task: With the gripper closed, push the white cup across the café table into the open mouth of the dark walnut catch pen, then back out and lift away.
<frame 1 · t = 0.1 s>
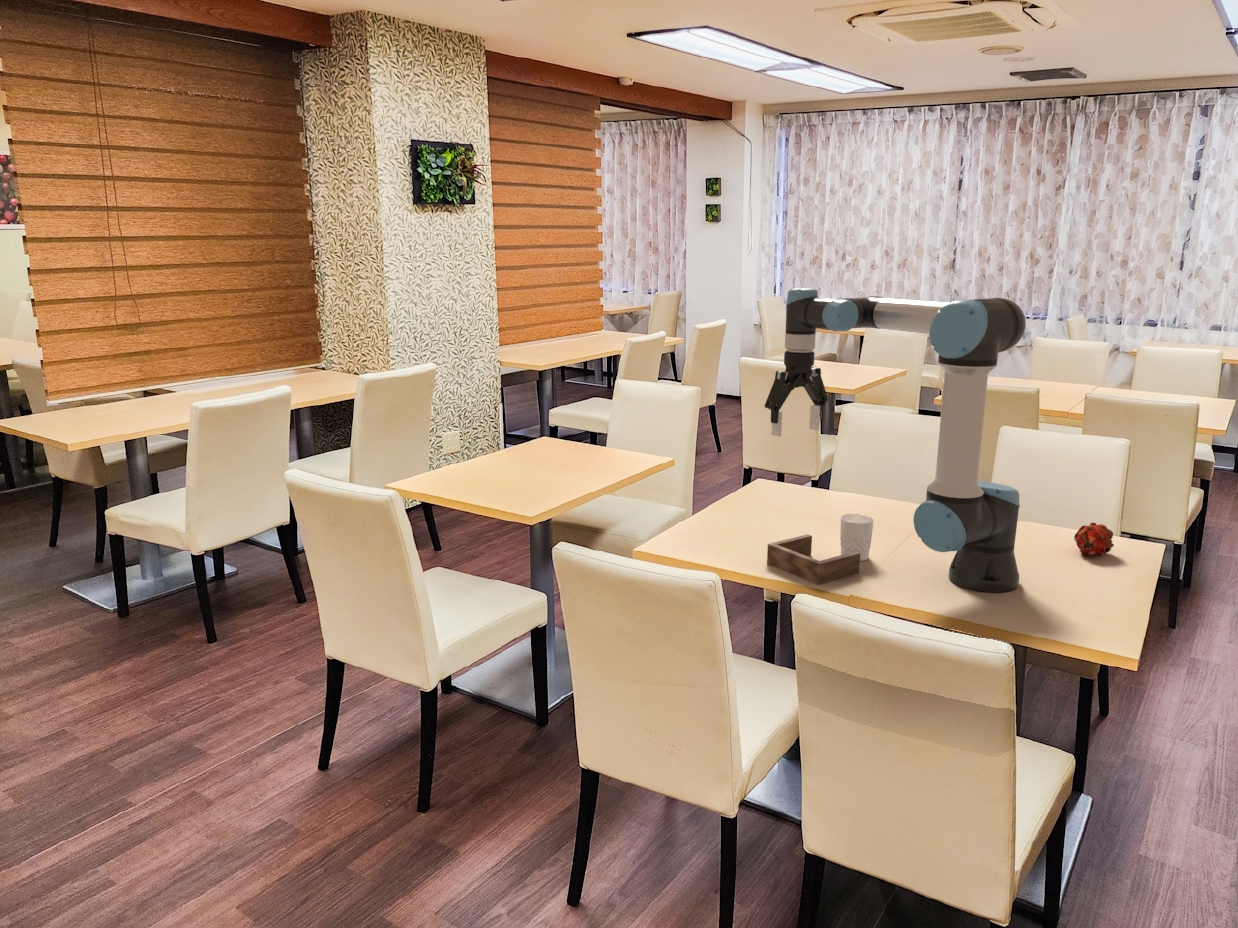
hand: (795, 432, 240), 28 cm above the table, tool pointing down, fingers open, 13 cm apart
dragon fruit: (1091, 555, 233), on the table
catch pen: (814, 567, 223), on the table
white cup: (854, 557, 231), on the table
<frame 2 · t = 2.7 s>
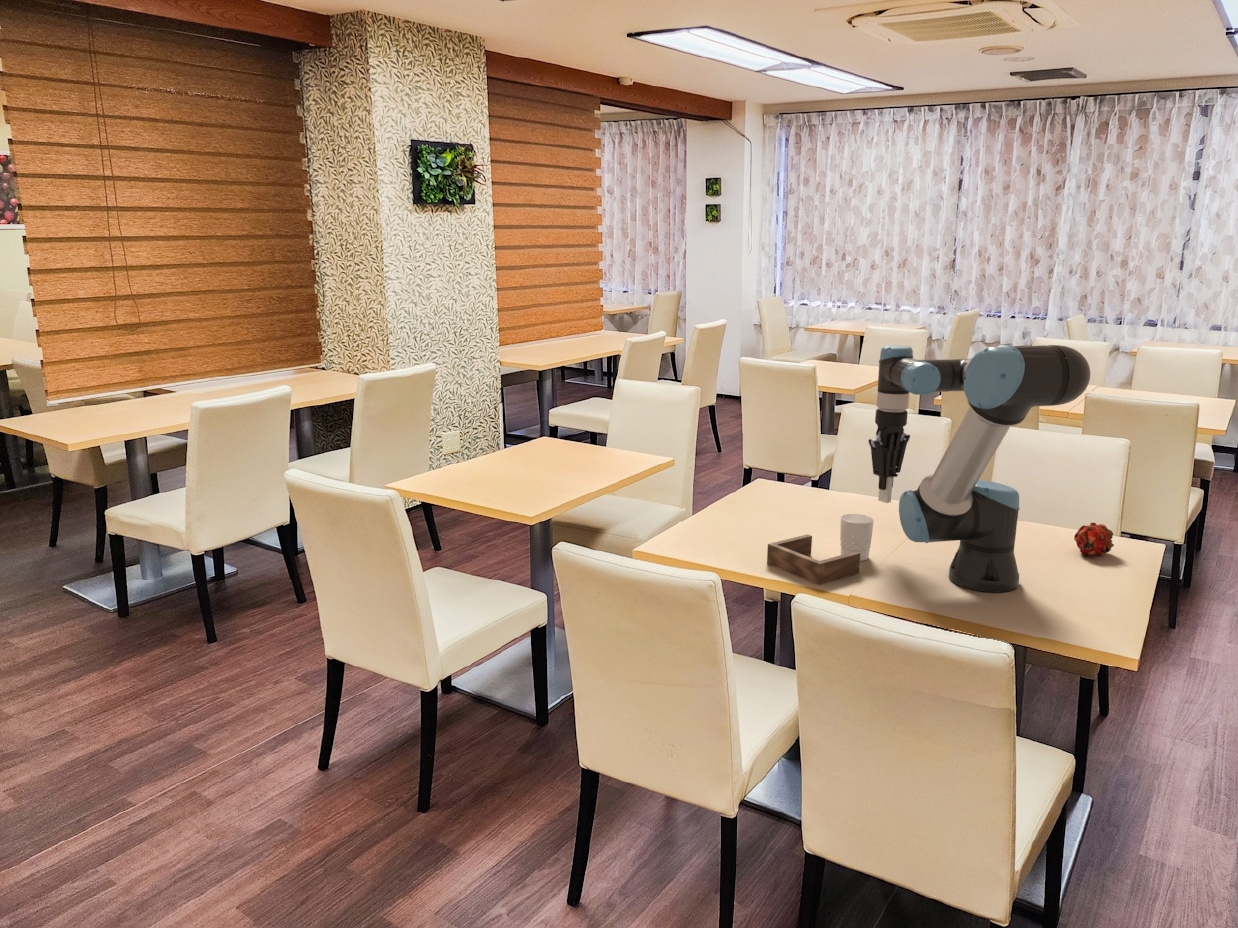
hand: (884, 501, 233), 13 cm above the table, tool pointing down, fingers closed
nothing on the table moved.
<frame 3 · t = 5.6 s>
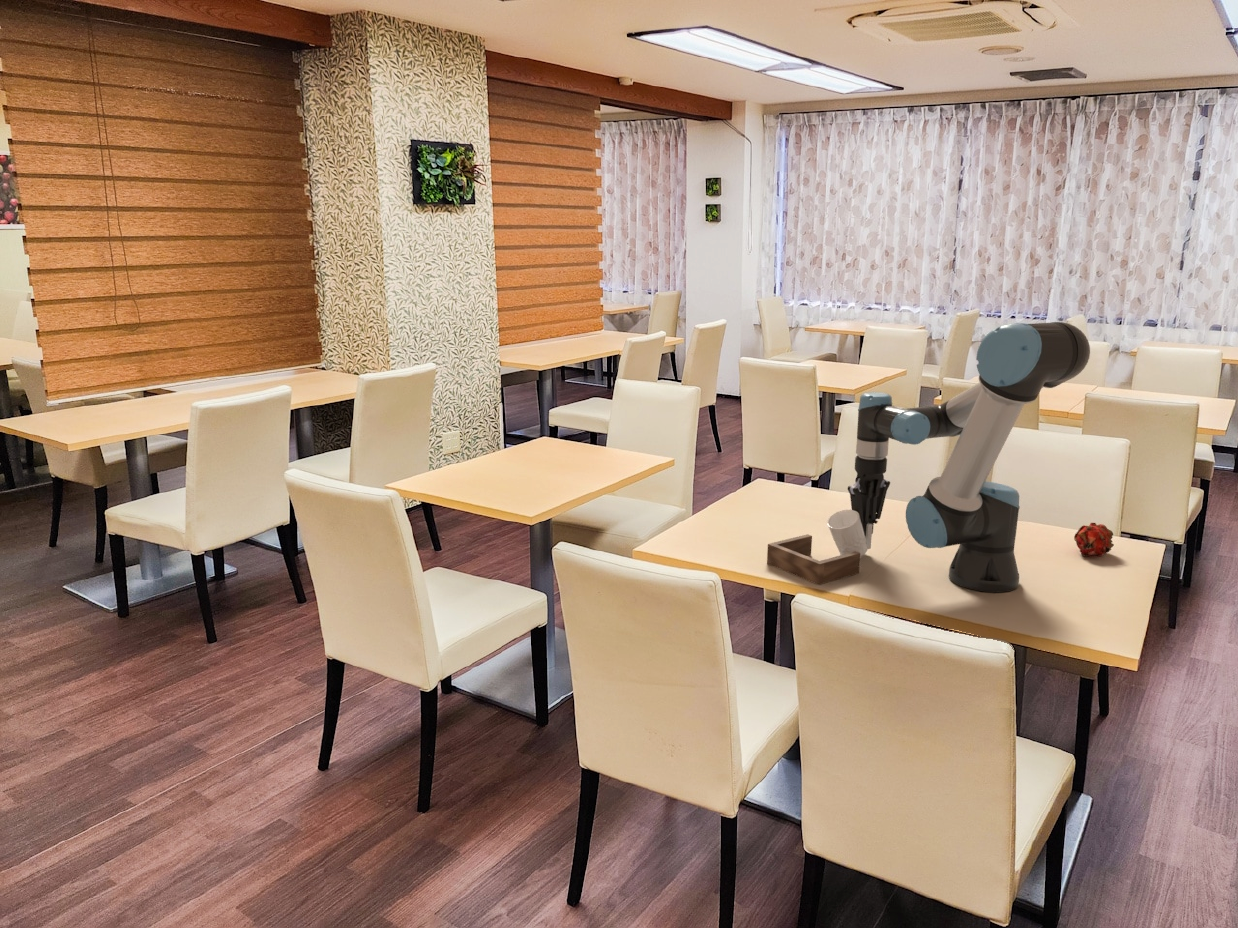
hand: (864, 547, 233), 2 cm above the table, tool pointing down, fingers closed
white cup: (854, 552, 230), point 1 cm above the table
everything else where it was.
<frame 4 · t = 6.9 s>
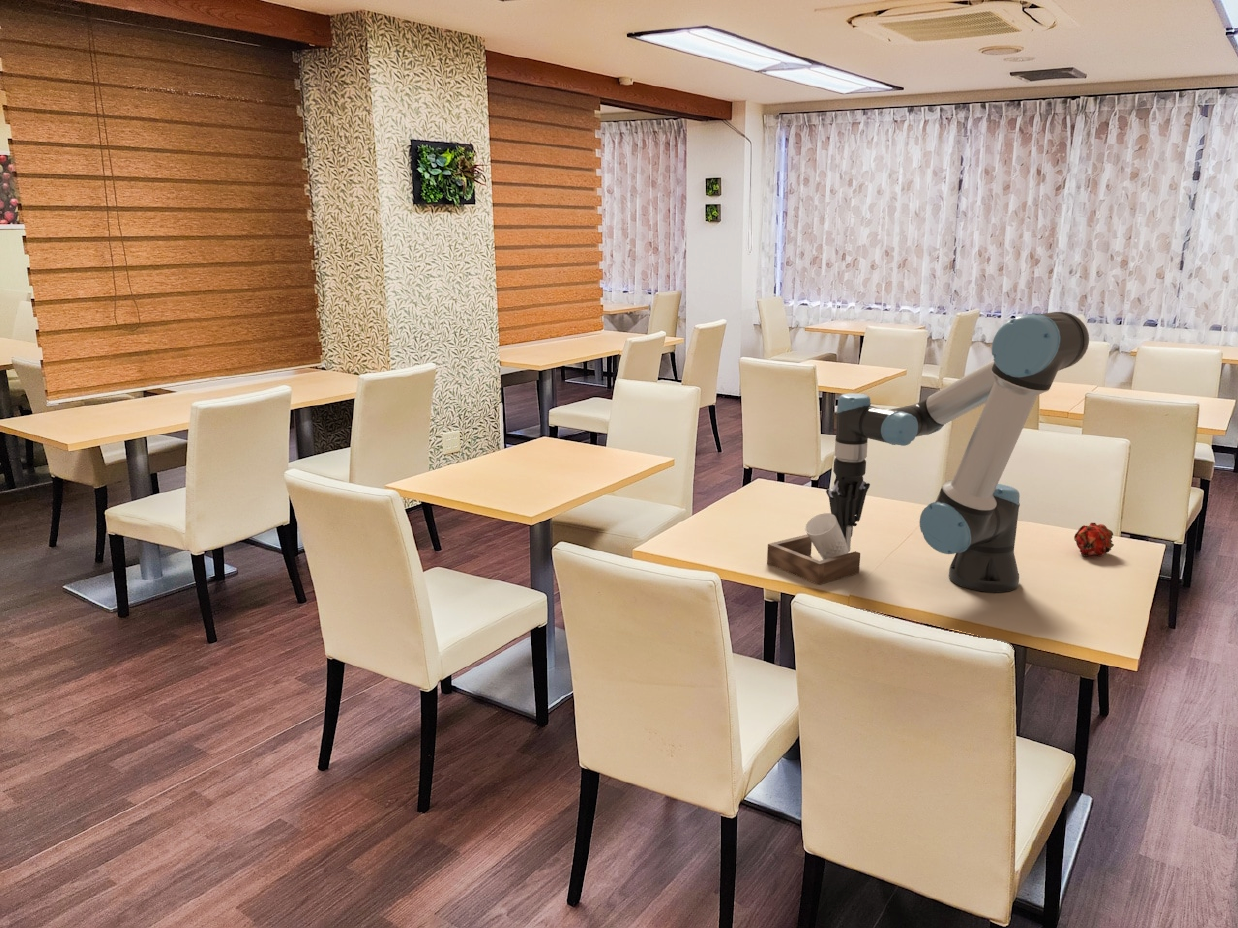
hand: (844, 550, 229), 2 cm above the table, tool pointing down, fingers closed
white cup: (836, 554, 227), point 2 cm above the table, touching gripper
everything else where it was.
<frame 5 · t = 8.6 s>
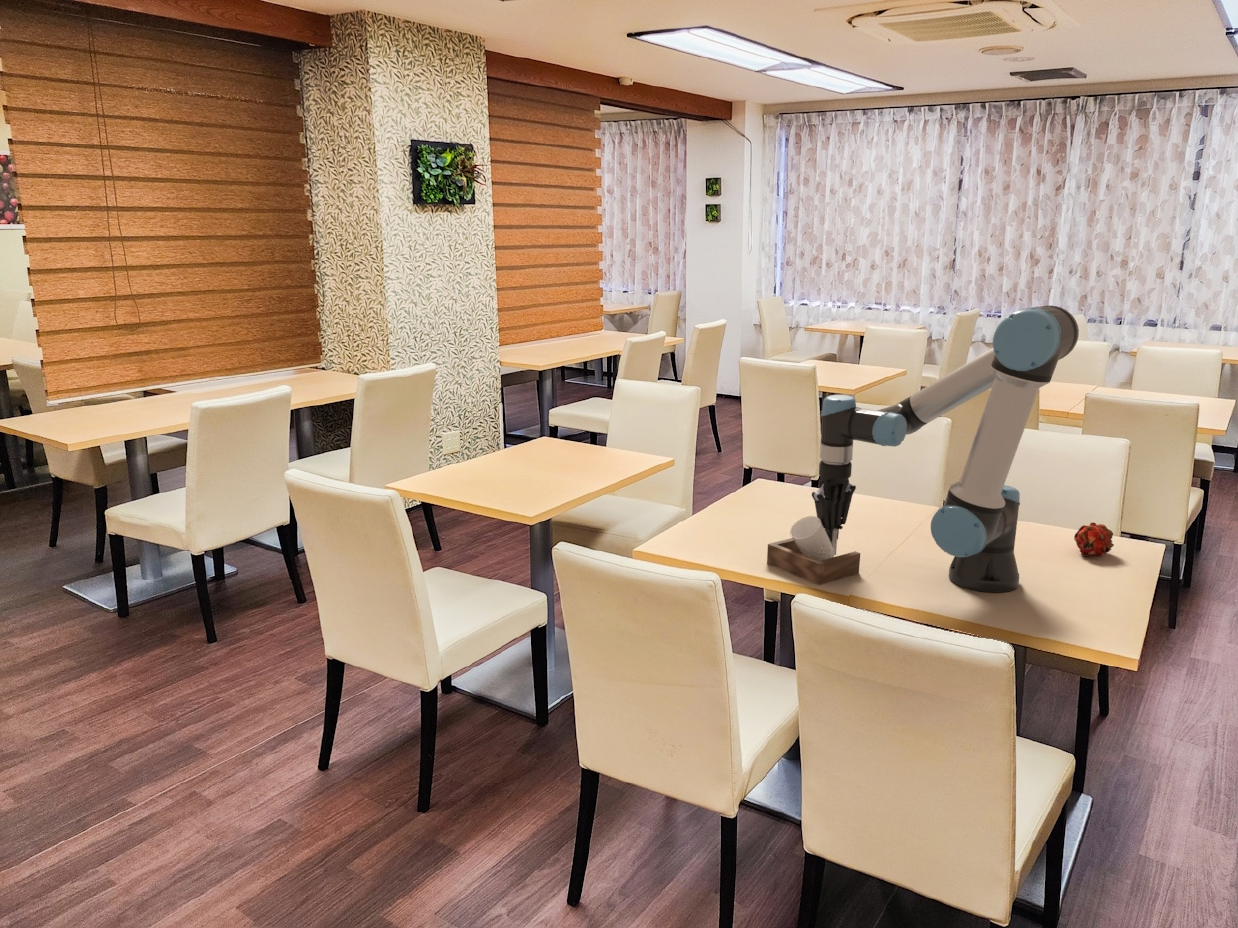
hand: (830, 553, 227), 2 cm above the table, tool pointing down, fingers closed
white cup: (822, 557, 225), point 2 cm above the table, touching gripper
everything else where it was.
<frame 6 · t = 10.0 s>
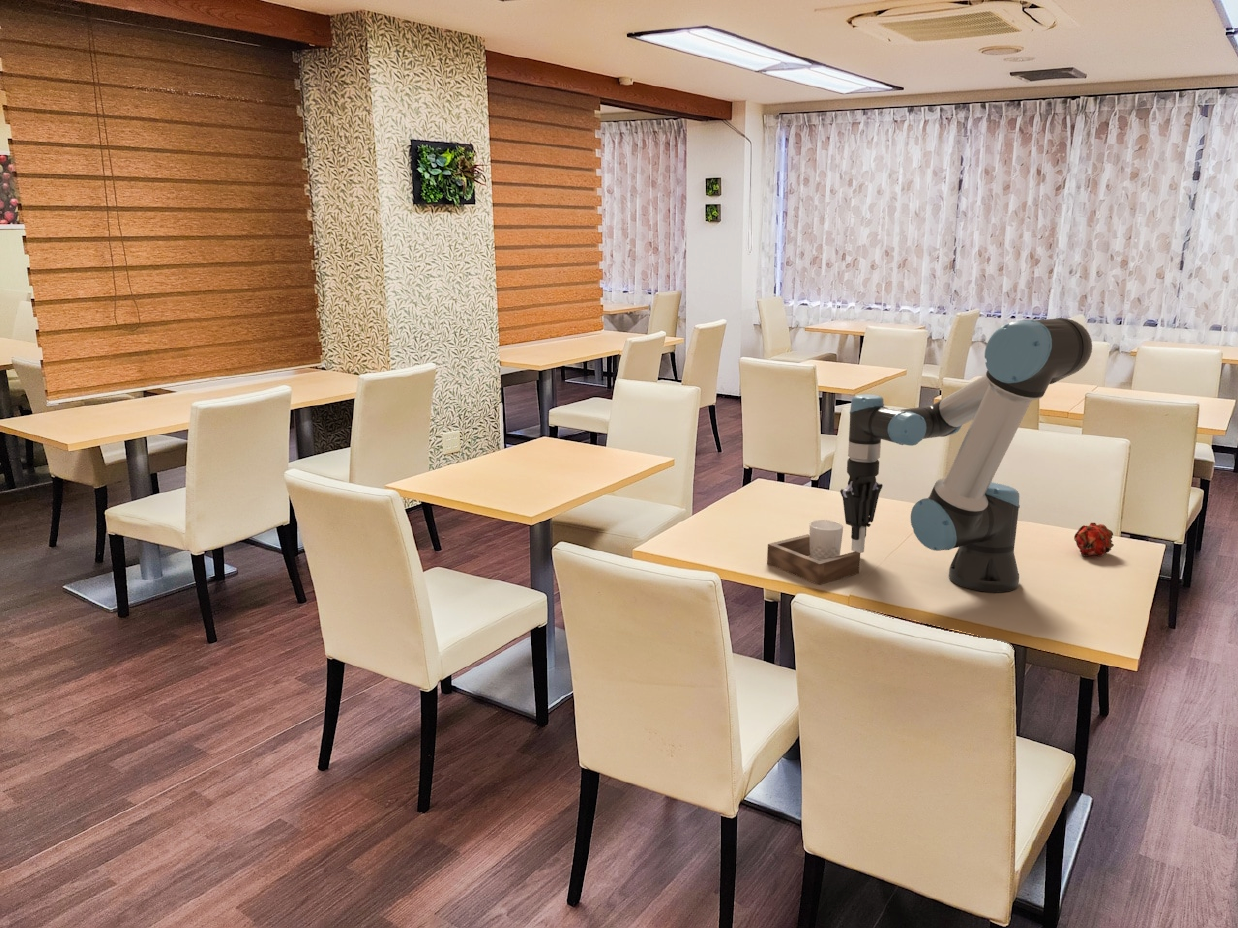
hand: (857, 551, 231), 1 cm above the table, tool pointing down, fingers closed
white cup: (824, 565, 225), on the table
everything else where it was.
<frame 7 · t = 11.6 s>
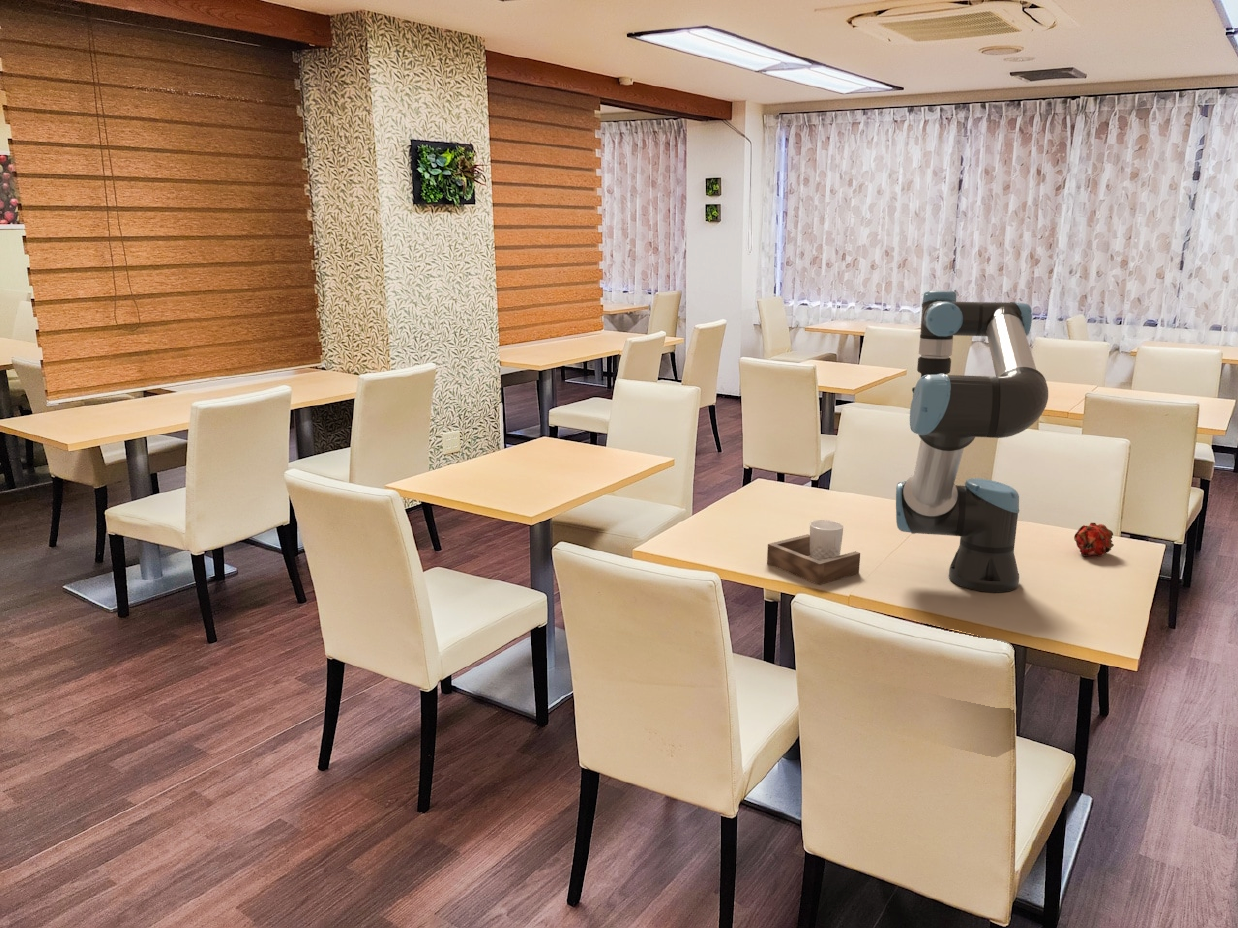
hand: (926, 453, 226), 26 cm above the table, tool pointing down, fingers closed
nothing on the table moved.
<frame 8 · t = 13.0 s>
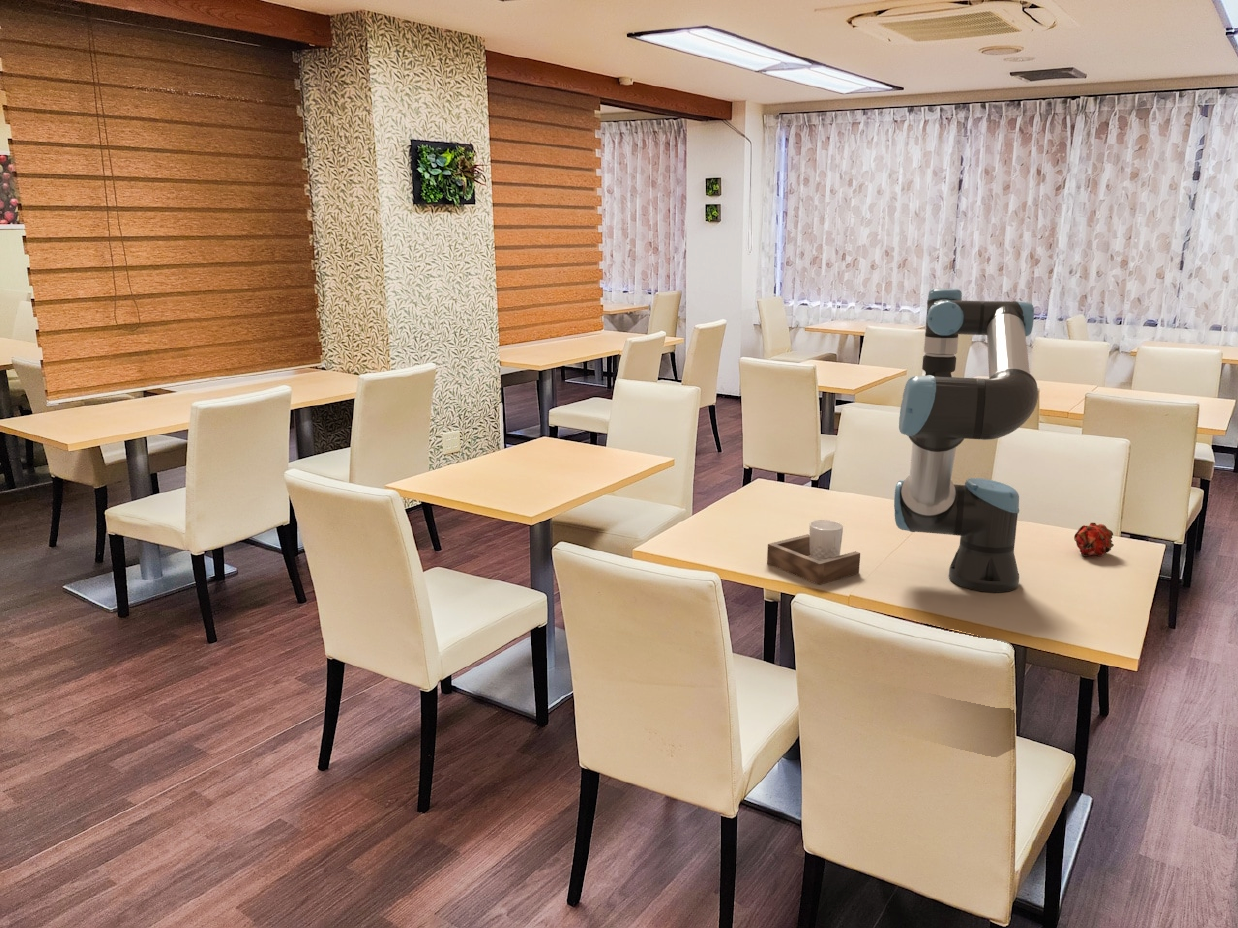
hand: (931, 451, 227), 26 cm above the table, tool pointing down, fingers closed
nothing on the table moved.
at the end: white cup inside the target area on the catch pen (4.2 cm from its centre), point 0.0 cm above the catch pen's base; white cup tilted 0°; the gripper is holding nothing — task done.
